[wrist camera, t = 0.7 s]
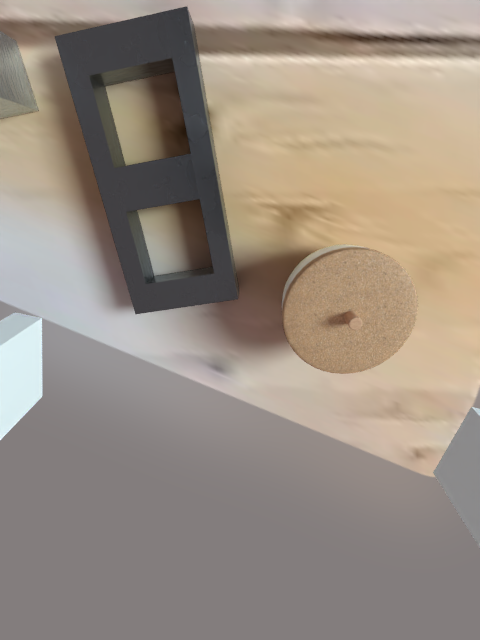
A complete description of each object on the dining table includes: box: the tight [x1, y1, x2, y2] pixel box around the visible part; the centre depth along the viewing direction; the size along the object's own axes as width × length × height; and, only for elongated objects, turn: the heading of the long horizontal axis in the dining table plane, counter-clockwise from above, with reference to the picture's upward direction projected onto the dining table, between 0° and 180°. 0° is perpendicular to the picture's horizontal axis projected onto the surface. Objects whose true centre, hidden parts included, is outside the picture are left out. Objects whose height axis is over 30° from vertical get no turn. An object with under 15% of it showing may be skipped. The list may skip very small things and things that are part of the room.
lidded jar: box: [282, 244, 418, 374], centre depth 30 cm, size 11×11×9 cm
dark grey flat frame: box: [55, 7, 239, 314], centre depth 30 cm, size 22×10×3 cm, turn 9°
